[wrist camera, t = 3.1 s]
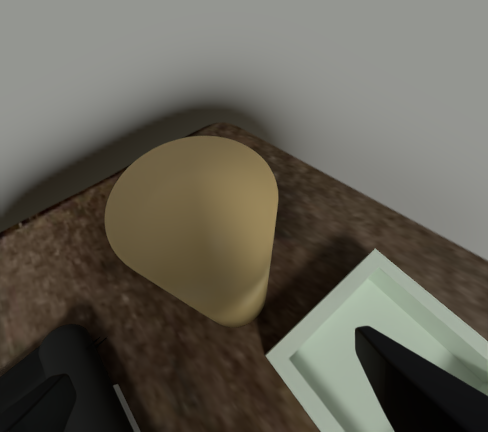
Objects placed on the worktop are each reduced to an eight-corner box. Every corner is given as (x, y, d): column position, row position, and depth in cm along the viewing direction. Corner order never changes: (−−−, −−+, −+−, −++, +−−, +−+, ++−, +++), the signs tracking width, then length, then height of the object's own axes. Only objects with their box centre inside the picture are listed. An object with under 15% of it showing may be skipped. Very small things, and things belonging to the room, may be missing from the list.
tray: (499, 384, 15) (548, 391, 13) (402, 542, 12) (439, 594, 10) (360, 261, 20) (375, 248, 17) (264, 354, 17) (265, 355, 14)
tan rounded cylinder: (279, 296, 19) (316, 202, 7) (227, 343, 17) (155, 329, 5) (239, 249, 21) (212, 116, 9) (189, 287, 20) (80, 189, 8)
